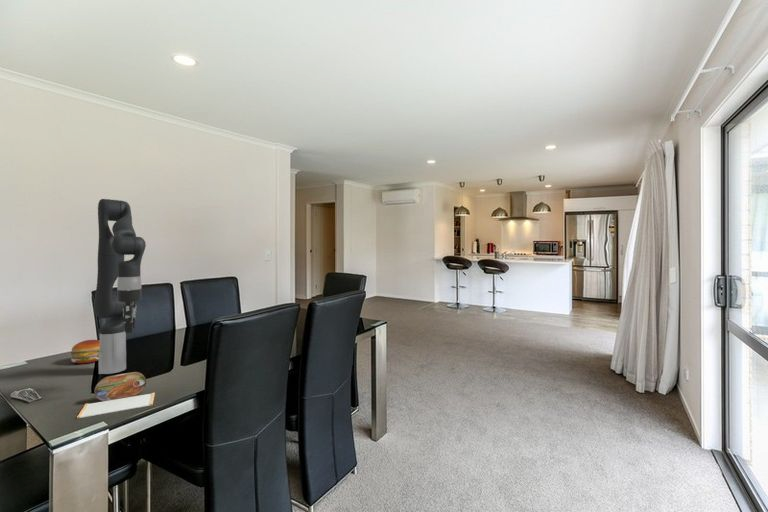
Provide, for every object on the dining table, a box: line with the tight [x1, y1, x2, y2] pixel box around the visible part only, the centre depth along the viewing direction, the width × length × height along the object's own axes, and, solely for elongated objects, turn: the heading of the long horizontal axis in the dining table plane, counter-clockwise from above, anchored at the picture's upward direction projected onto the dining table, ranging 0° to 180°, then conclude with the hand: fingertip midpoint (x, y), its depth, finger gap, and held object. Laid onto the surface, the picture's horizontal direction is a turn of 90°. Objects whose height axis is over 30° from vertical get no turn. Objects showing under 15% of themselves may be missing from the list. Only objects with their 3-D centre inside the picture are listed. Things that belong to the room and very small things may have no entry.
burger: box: [70, 339, 100, 364], centre depth 169 cm, size 13×14×10 cm
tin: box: [93, 371, 147, 402], centre depth 128 cm, size 15×3×8 cm, turn 127°
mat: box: [76, 392, 156, 420], centre depth 121 cm, size 20×11×1 cm, turn 119°
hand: (130, 330), depth 135 cm, fingers open, 8 cm apart
